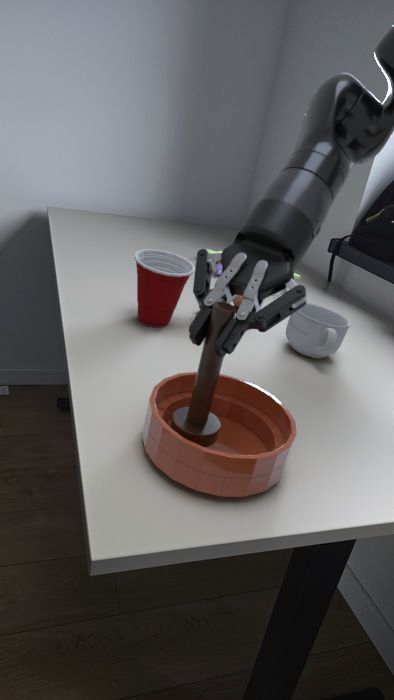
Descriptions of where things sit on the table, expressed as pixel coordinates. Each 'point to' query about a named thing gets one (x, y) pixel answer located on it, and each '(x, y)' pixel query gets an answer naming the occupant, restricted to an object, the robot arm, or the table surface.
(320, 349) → the teacup
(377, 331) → the table surface
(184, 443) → the bowl
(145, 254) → the plastic cup
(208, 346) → the brown rod with base
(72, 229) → the table surface
